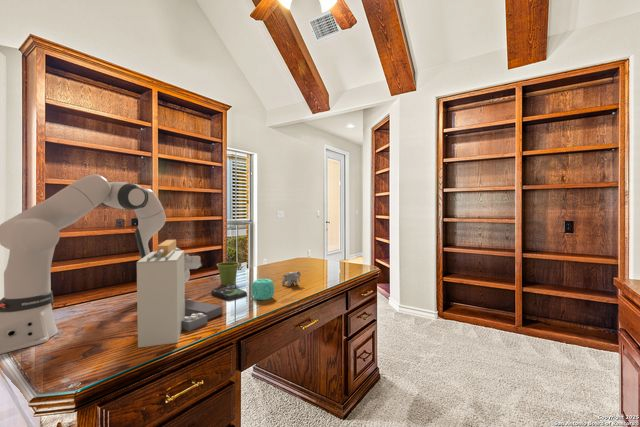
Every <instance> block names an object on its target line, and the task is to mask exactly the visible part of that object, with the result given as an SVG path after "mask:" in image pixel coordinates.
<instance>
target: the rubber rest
mask: <svg viewBox="0 0 640 427" xmlns="http://www.w3.org/2000/svg"><path fill="white" fill-rule="evenodd" d="M196 313H203V314H204V315H207V321H208V320H212V319H213V318H216V317H218V316H220V315H223V306H222V305H217V304H214V303H213V304H211V303H207V302H201V301H198V300H197V301H196V300H191V299H185V317H186V316H187V317H189V316H191V314H196Z"/></svg>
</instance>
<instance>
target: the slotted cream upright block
mask: <svg viewBox="0 0 640 427" xmlns="http://www.w3.org/2000/svg"><path fill="white" fill-rule="evenodd" d="M156 253H157V250H156V251H151V252H150V253H149V254H148V255H146V256H145V257H143V258H142V259H141V258H140V259H139V260H138V261H136V296H137V297H136V298H137V304H136V305H137V307H136V308H137V312H136V313H137V348H138V349H139V348H145V347H155V346H161V345H170V344H178V343H179V340H180V337H181V334H182V330H183V329H182V319H183V318H184V317H186V316H185V300H186V296H185V295H186V294H185V293H186V292H185V286H186V285H185V284H186V283H185V279H184V254H185V250H182V251H175V250H172V251H171V252H170V253H169V254H168V255H167V256H156Z"/></svg>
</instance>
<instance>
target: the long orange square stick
mask: <svg viewBox="0 0 640 427" xmlns="http://www.w3.org/2000/svg"><path fill="white" fill-rule="evenodd" d="M176 247H177V240H176V239H166V240H164V241H162V242H161V243H160V244H158V245H157V246H156V251H157V253H156V256H167V255H168V254H169V253H170V252H171V251H172V250H175V249H176Z"/></svg>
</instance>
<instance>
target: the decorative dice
mask: <svg viewBox="0 0 640 427" xmlns="http://www.w3.org/2000/svg"><path fill="white" fill-rule="evenodd" d="M251 293H252V296H253V298H254V300H257V301H267V300H270V299H272V298H273V297H274V295H275V285H274V282H273V280H272V279H269V278H259V279H255V280H254V281H253V282H252V285H251Z"/></svg>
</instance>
